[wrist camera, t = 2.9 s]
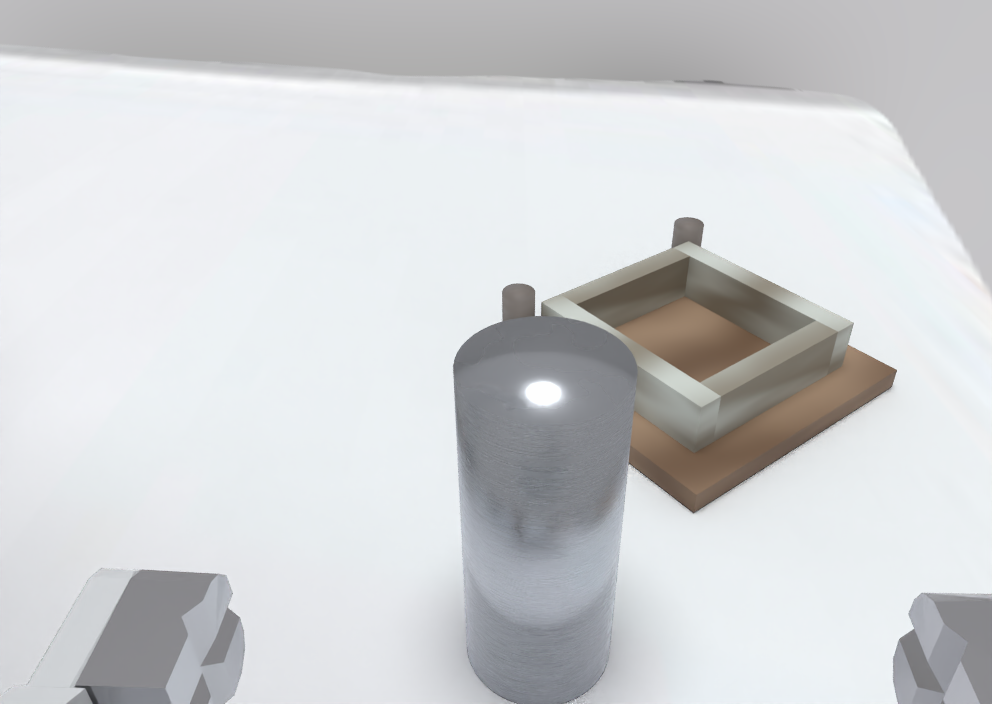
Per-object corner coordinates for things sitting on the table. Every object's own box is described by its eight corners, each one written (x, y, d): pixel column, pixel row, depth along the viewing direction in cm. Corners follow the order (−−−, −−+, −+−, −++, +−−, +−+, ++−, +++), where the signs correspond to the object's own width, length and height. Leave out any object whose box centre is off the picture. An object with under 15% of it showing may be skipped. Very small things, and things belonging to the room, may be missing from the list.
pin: (439, 630, 31) (418, 355, 24) (547, 564, 33) (556, 298, 26) (526, 734, 27) (530, 451, 21) (639, 653, 30) (677, 375, 23)
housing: (491, 356, 45) (490, 289, 42) (680, 273, 51) (688, 212, 49) (693, 512, 35) (705, 438, 33) (892, 386, 42) (913, 317, 40)
